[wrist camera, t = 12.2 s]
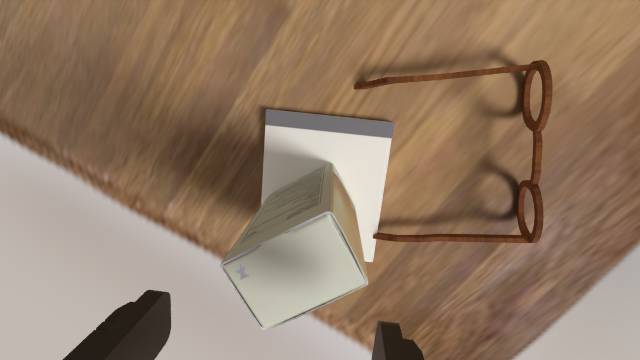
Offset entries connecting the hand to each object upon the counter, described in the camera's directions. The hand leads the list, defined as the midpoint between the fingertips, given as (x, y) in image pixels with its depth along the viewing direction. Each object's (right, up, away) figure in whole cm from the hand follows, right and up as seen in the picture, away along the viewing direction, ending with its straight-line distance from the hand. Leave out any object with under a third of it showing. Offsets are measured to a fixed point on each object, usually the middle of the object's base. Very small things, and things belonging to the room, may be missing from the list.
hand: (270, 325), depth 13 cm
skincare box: (+1, +4, +15) cm, 16 cm away
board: (+2, +5, +15) cm, 16 cm away
